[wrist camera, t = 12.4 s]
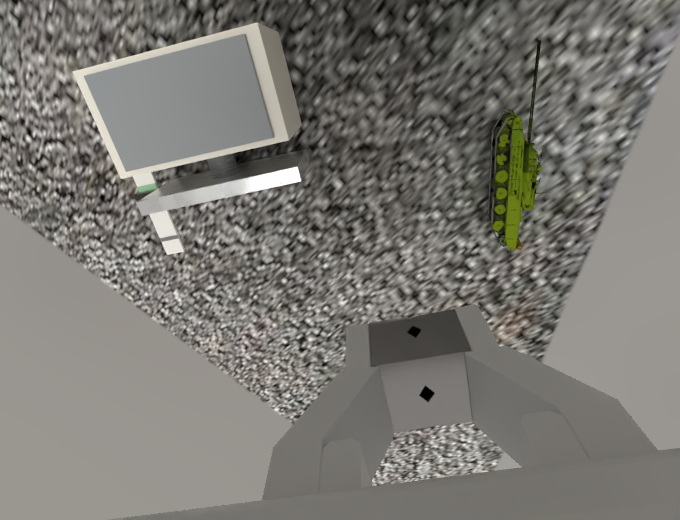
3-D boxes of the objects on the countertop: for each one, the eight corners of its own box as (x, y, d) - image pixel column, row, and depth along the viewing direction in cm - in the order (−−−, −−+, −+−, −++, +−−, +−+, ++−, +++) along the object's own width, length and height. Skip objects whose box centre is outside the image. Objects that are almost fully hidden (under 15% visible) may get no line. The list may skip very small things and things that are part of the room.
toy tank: (470, 257, 39) (587, 258, 37) (477, 34, 31) (627, 15, 29) (467, 230, 45) (568, 229, 43) (473, 38, 38) (596, 22, 35)
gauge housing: (93, 80, 38) (17, 85, 30) (278, 32, 36) (255, 21, 27) (168, 253, 46) (125, 297, 37) (326, 221, 44) (319, 260, 35)
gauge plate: (89, 83, 38) (28, 87, 31) (278, 34, 36) (260, 26, 29) (140, 198, 43) (97, 225, 35) (310, 160, 40) (301, 181, 33)
